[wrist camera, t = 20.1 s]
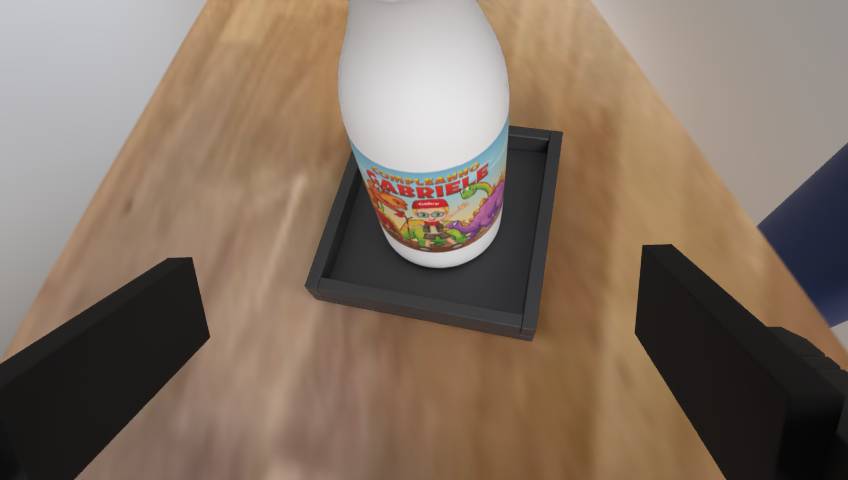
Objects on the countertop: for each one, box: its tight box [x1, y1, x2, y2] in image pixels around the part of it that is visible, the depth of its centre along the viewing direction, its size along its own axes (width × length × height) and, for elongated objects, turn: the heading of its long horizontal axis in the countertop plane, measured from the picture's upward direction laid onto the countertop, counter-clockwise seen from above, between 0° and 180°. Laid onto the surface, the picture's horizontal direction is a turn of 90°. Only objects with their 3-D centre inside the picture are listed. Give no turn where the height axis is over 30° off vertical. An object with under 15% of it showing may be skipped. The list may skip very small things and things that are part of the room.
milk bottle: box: [338, 0, 509, 268], centre depth 23 cm, size 8×8×20 cm
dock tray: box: [305, 126, 563, 341], centre depth 32 cm, size 14×14×2 cm
